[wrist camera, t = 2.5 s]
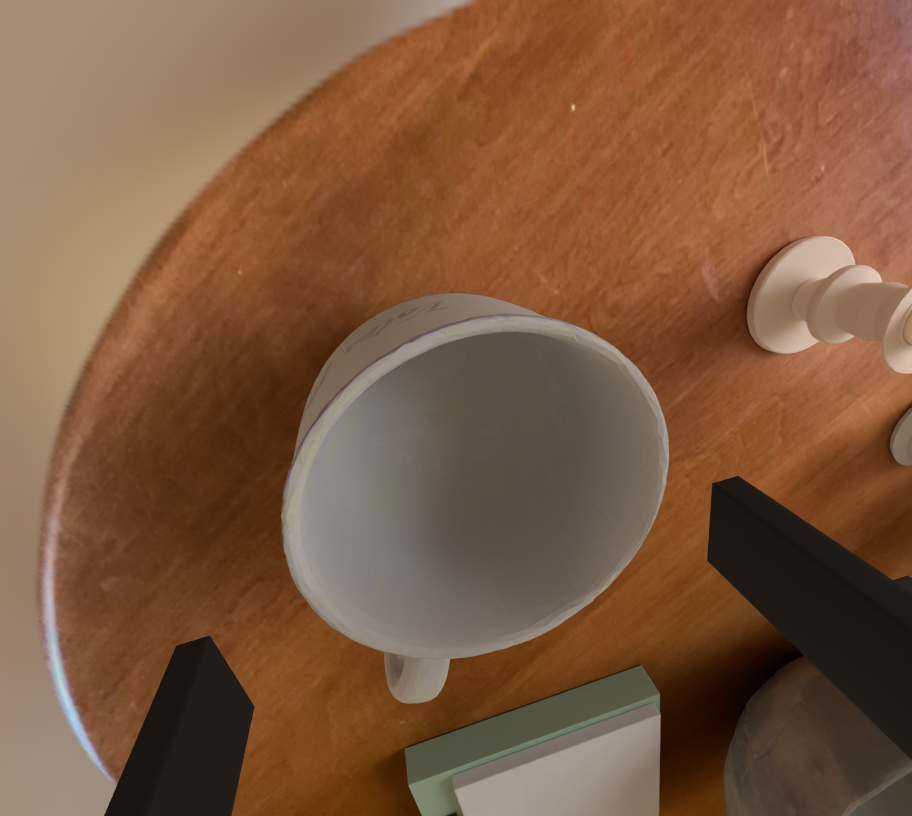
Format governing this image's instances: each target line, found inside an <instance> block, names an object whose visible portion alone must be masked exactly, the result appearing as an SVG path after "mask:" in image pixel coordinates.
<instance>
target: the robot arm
mask: <svg viewBox="0 0 912 816" xmlns="http://www.w3.org/2000/svg"><path fill="white" fill-rule="evenodd" d="M707 561H708V562H709V563H710V564H711V565H712V566H713V567H714V568H715V569H716V570H717V571H718V572H719V573H721V574H722V575H723V576H724V577H725V578H726V579H727V580H728V581H729V582H730V583H731V584H732V585H733V586H734V587H735V588H736V589H737V590H738V591H739V592H740V593H741V594H742V595H743V596H744V597H745V598H746V599H747V600H748V601H749V602H750V603H751V604H752V605H753V606H754V607H755V608H756V609H757V610H758V611H759V612H760V613H761V614H762V615H763V616H765V617H766V618H767V619H768V620H769V621H770V622H771V623H772V624H773V625H774V626H775V627H776V628H777V629H778V630H779V631H780V632H781V633H782V634H783V635H784V636H785V637H786V638H787V639H788V640H789V641H790V642H791V643H792V644H793V645H794V646H795V647H796V648H797V649H798V650H799V651H800V652H801V653H802V654H803V655H804V656H805V657H806V658H807V659H808V660H810V661H811V662H812V663H813V664H814V665H815V666H816V667H817V668H818V669H819V670H820V671H821V672H822V673H823V674H824V675H825V676H826V677H827V678H828V679H829V680H830V681H831V682H832V683H833V684H834V685H835V686H836V687H837V688H838V689H839V690H840V691H841V692H842V693H843V694H844V695H845V696H846V697H847V698H848V699H849V700H850V701H851V702H852V703H854V704H855V705H856V706H857V707H858V708H859V709H860V710H861V711H862V712H863V713H864V714H865V715H866V716H867V717H868V718H869V719H870V720H871V721H872V722H873V723H874V724H875V725H876V726H877V727H878V728H879V729H880V730H881V731H882V732H883V733H884V734H885V735H886V736H887V737H888V738H889V739H890V740H891V741H892V742H893V743H894V744H895V745H896V746H898V747H899V748H900V749H901V750H902V751H903V752H904V753H905V754H906V755H907V756H908V757H909V758H910V759H911V760H912V578H911V577H909V576H905V577H902V578H899V579H896V580H891V579H890V578H888V577H887V576H886V575H884V574H883V573H881V572H880V571H878V570H877V569H875V568H874V567H872V566H871V565H869V564H868V563H866V562H865V561H863V560H862V559H860V558H859V557H857V556H856V555H854V554H853V553H851V552H850V551H849V550H847V549H846V548H844V547H843V546H841V545H840V544H838V543H837V542H835V541H834V540H832V539H831V538H829V537H828V536H826V535H825V534H823V533H822V532H820V531H819V530H817V529H816V528H814V527H813V526H812V525H810V524H809V523H807V522H806V521H804V520H803V519H801V518H800V517H798V516H797V515H795V514H794V513H792V512H791V511H789V510H788V509H786V508H785V507H783V506H782V505H780V504H779V503H777V502H776V501H775V500H773V499H772V498H770V497H769V496H767V495H766V494H764V493H763V492H761V491H760V490H758V489H757V488H755V487H754V486H752V485H751V484H749V483H748V482H746V481H745V480H743V479H742V478H740V477H739V476H736V477H732V478H729V479H726V480H723V481H719V482H716V483H713V484H712V496H711V511H710V527H709V542H708V558H707ZM253 711H254V705H253V704H252V702H251V700H250V699H249V697H248V696H247V694H246V692H245V691H244V689H243V688H242V686H241V684H240V683H239V681H238V680H237V678H236V676H235V675H234V673H233V672H232V670H231V669H230V667H229V665H228V664H227V662H226V661H225V659H224V657H223V656H222V654H221V653H220V651H219V649H218V648H217V646H216V645H215V643H214V641H213V640H212V638H211V637H210V636H207V637H204V638H200V639H197V640H194V641H190V642H187V643H184V644H180V645H177V646H176V648H175V650H174V653H173V655H172V657H171V660H170V662H169V664H168V667H167V669H166V671H165V674H164V676H163V678H162V681H161V683H160V686H159V688H158V690H157V693H156V695H155V697H154V700H153V702H152V704H151V707H150V709H149V711H148V714H147V716H146V719H145V721H144V723H143V726H142V728H141V730H140V733H139V735H138V737H137V740H136V742H135V744H134V747H133V749H132V751H131V754H130V756H129V759H128V761H127V763H126V766H125V768H124V770H123V773H122V775H121V777H120V780H119V782H118V784H117V787H116V789H115V792H114V794H113V797H112V799H111V801H110V803H109V806H108V808H107V810H106V813H105V815H104V816H231V814H232V810H233V805H234V800H235V796H236V791H237V786H238V781H239V777H240V772H241V767H242V763H243V758H244V753H245V748H246V744H247V739H248V734H249V730H250V725H251V720H252V715H253Z"/></svg>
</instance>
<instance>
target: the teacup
mask: <svg viewBox="0 0 912 816" xmlns="http://www.w3.org/2000/svg"><path fill="white" fill-rule="evenodd" d="M668 463H669V447H668V433H667V428H666V423H665V420H664V416H663V413H662V410H661V407H660V404H659V401H658V399H657V396H656V394H655V393H654V391H653V389H652V388H651V386H650V384H649V383H648V381H647V380H646V379H645V377H644V376H643V375H642V373H641V372H640V371H639V369H638V368H637V367H636V365H635V364H634V363H632V362H631V361H630V360H629V359H627V358H626V357H625V356H624V355H623V354H622V353H621V352H620V351H619V350H617V349H616V348H615V347H614V346H613V345H611V344H610V343H608V342H606V341H605V340H603V339H601V338H600V337H598V336H597V335H595V334H593V333H591V332H589V331H587V330H585V329H583V328H579V327H577V326H574V325H572V324H570V323H567V322H564V321H561V320H558V319H553V318H548V317H544V316H542V315H540V314H537V313H535V312H533V311H531V310H528V309H525V308H523V307H520V306H517V305H514V304H512V303H509V302H506V301H502V300H499V299H495V298H491V297H487V296H481V295H473V294H462V293H445V294H438V295H430V296H423V297H420V298H416V299H413V300H409V301H406V302H403V303H400V304H397V305H395V306H393V307H391V308H388V309H386V310H384V311H382V312H381V313H379V314H377V315H375V316H374V317H372V318H370V319H369V320H368V321H366V322H365V323H363V324H362V325H361V326H359V327H358V328H357V329H356V330H354V331H353V332H352V333H351V334H350V335H349V336H348V337H347V338H346V339H345V340H344V341H343V342H342V343H341V344H340V345H339V346H338V347H337V349H336V350H335V351H334V352H333V354H332V355H331V356H330V358H329V359H328V360H327V362H326V363H325V365H324V366H323V368H322V370H321V372H320V373H319V375H318V377H317V378H316V380H315V383H314V385H313V387H312V390H311V392H310V394H309V397H308V399H307V402H306V406H305V409H304V412H303V416H302V419H301V424H300V428H299V432H298V437H297V442H296V447H295V453H294V459H293V461H292V463H291V466H290V468H289V472H288V476H287V479H286V483H285V487H284V490H283V503H282V511H281V518H282V541H283V550H284V553H285V555H286V562H287V565H288V568H289V571H290V573H291V575H292V578H293V580H294V583H295V585H296V587H297V589H298V590H299V592H300V593H301V594H302V596H303V597H304V598H305V600H306V601H307V602H308V603H309V605H310V606H311V607H312V609H313V610H314V611H315V613H316V614H317V615H318V616H320V617H321V618H322V619H323V620H324V621H325V622H326V623H327V624H328V625H330V626H331V627H332V628H333V629H334V630H337V631H339V632H341V633H342V634H344V635H345V636H346V637H348V638H349V639H352V640H354V641H356V642H358V643H360V644H363V645H365V646H368V647H371V648H373V649H376V650H379V651H384V657H385V672H386V677H387V683H388V687H389V689H390V691H391V692H392V694H393V696H394V698H396V699H397V700H399V701H400V702H404V703H421V702H426V701H430V700H431V699H433V698H435V697H436V696H437V695H438V694H439V692H440V691H441V690H442V688H443V686H444V683H445V680H446V678H447V673H448V668H449V663H450V659H453V658H464V657H471V656H476V655H481V654H485V653H490V652H493V651H495V650H500V649H506V648H508V647H511V646H514V645H517V644H520V643H522V642H525V641H528V640H531V639H533V638H535V637H537V636H540V635H542V634H543V633H545V632H547V631H549V630H550V629H552V628H554V627H556V626H558V625H559V624H561V623H562V622H563V621H565V620H566V619H568V618H569V617H571V616H572V615H574V614H575V613H577V612H578V611H580V610H581V609H582V608H584V607H585V606H587V605H588V604H589V603H591V602H592V601H593V600H594V599H595V597H596V596H598V595H599V594H600V593H601V592H603V591H604V590H605V589H606V588H607V587H608V586H609V585H610V584H611V583H612V582H613V581H614V580H615V579H616V578H617V576H618V575H619V574H620V573H621V572H622V570H623V569H624V568H625V567H626V566H627V565H628V563H629V562H630V561H631V560H632V558H633V557H634V555H635V554H636V553H637V551H638V550H639V548H640V547H641V545H642V544H643V542H644V540H645V538H646V536H647V534H648V533H649V531H650V529H651V527H652V524H653V522H654V520H655V518H656V516H657V513H658V510H659V507H660V504H661V501H662V497H663V494H664V490H665V485H666V479H667V473H668Z"/></svg>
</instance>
